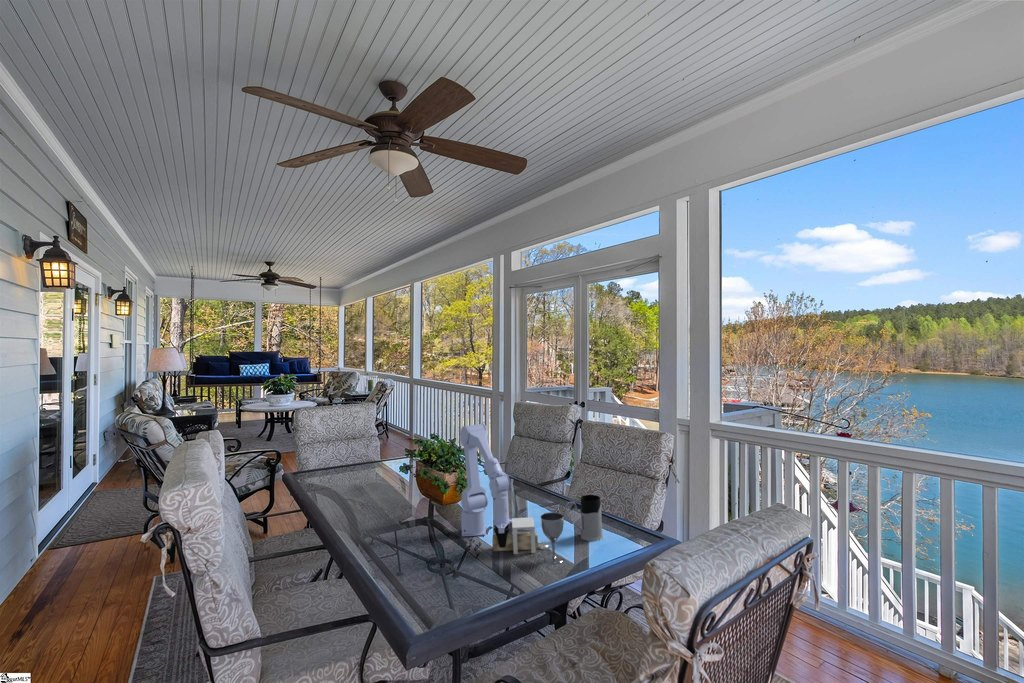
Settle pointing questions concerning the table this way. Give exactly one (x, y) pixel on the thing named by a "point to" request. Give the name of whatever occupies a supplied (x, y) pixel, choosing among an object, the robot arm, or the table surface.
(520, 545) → the push stick
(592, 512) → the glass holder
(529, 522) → the small white stool
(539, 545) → the steel disc
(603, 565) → the table surface
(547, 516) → the wine glass
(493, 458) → the robot arm
